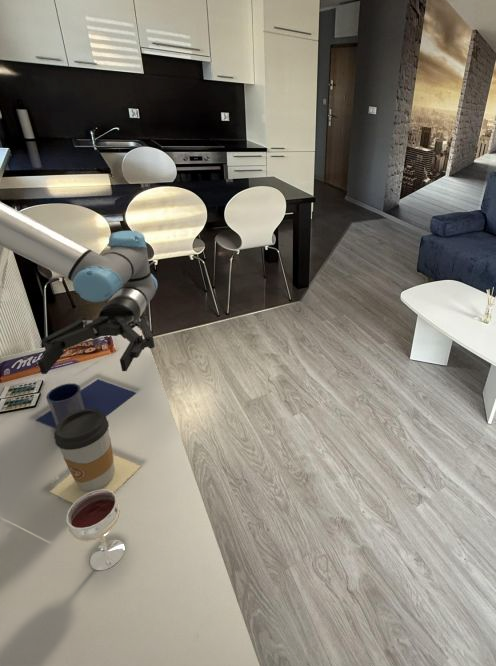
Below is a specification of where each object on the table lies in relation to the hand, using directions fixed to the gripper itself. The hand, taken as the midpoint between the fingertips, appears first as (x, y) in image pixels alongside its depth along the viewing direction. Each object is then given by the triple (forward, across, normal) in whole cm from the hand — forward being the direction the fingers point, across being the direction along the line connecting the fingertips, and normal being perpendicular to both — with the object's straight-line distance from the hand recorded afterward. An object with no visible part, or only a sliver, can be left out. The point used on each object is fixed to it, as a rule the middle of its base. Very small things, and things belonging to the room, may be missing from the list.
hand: (83, 366), depth 74 cm
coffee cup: (+6, 0, -23) cm, 24 cm away
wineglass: (+21, -8, -24) cm, 33 cm away
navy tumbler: (-9, +10, -23) cm, 27 cm away
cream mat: (+6, 0, -23) cm, 24 cm away
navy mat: (-16, +10, -24) cm, 30 cm away
